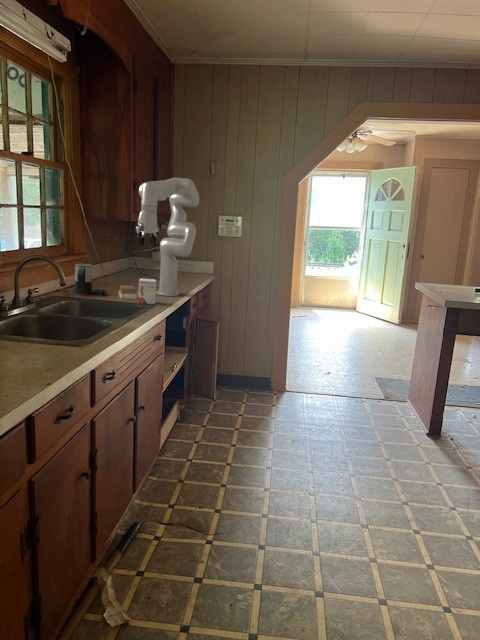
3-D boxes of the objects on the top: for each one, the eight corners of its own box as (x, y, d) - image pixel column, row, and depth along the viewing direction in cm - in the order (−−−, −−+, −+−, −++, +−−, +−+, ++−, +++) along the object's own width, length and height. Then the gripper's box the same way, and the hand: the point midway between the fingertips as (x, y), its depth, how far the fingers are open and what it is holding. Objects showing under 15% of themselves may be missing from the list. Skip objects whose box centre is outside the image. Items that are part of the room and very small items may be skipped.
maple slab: (118, 296, 255) (118, 291, 254) (133, 296, 258) (134, 291, 257) (120, 299, 248) (121, 293, 247) (136, 299, 251) (136, 294, 250)
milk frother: (73, 290, 257) (73, 263, 254) (103, 291, 264) (104, 264, 260) (76, 295, 244) (76, 266, 241) (108, 296, 251) (108, 267, 248)
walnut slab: (120, 291, 254) (120, 285, 253) (133, 291, 256) (133, 286, 256) (121, 293, 247) (121, 287, 247) (135, 294, 250) (135, 288, 249)
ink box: (137, 303, 240) (138, 279, 238) (137, 301, 245) (139, 278, 242) (155, 304, 242) (156, 280, 239) (155, 302, 247) (156, 279, 244)
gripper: (153, 210, 241) (150, 244, 244) (131, 207, 225) (129, 244, 229) (165, 211, 238) (163, 246, 241) (144, 209, 222) (142, 246, 226)
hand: (146, 245), depth 235 cm, fingers open, 9 cm apart
